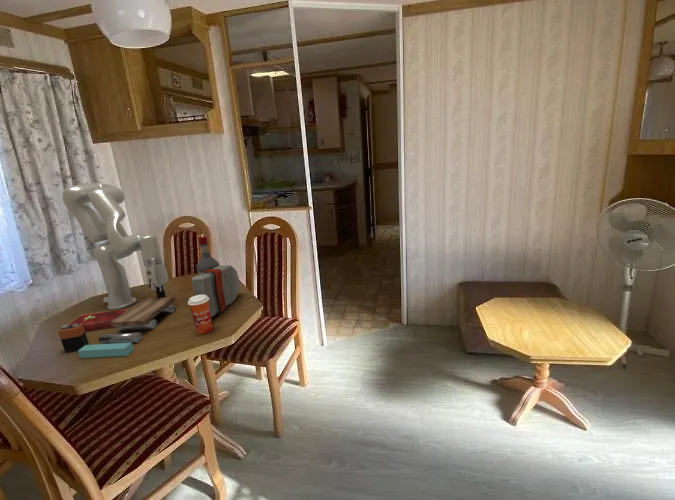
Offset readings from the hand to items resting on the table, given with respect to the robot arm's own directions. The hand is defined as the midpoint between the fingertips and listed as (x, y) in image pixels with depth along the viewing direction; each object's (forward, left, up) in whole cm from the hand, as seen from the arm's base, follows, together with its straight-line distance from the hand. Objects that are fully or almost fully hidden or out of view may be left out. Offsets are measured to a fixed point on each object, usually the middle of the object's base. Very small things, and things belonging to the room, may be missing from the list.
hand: (162, 298), depth 170 cm
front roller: (0, -20, -5) cm, 21 cm away
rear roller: (0, -6, -5) cm, 8 cm away
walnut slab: (0, -14, -1) cm, 14 cm away
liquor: (+20, +11, -5) cm, 23 cm away
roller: (0, -31, -5) cm, 32 cm away
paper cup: (+31, -25, -5) cm, 40 cm away
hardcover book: (-22, -14, -5) cm, 26 cm away
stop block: (0, -40, -5) cm, 40 cm away
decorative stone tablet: (+30, -4, -5) cm, 31 cm away
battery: (-16, -34, -5) cm, 38 cm away
